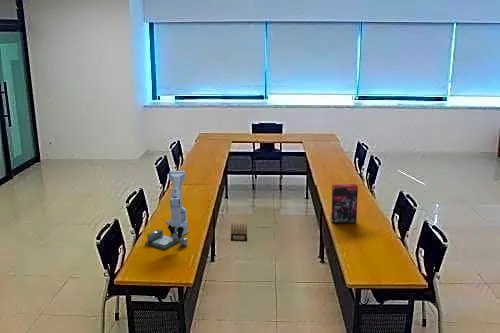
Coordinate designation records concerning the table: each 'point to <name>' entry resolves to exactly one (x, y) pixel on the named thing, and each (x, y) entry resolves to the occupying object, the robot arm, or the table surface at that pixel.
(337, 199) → the graphics card box
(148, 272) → the table surface
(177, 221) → the robot arm
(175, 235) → the cylinder
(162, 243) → the dial scale
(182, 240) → the cylinder
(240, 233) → the ammunition clip
